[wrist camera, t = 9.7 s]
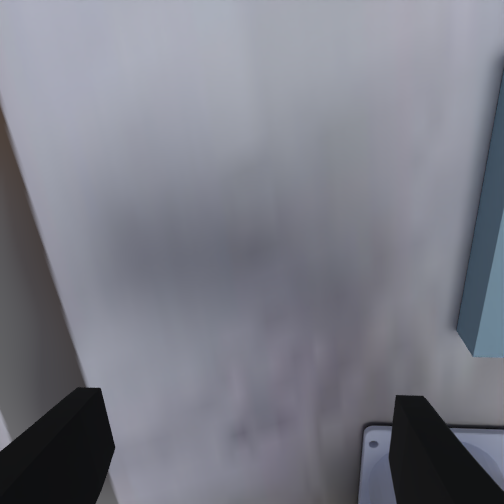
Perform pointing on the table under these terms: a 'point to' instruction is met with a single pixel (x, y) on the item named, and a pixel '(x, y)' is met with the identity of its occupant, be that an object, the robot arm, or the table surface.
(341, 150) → the table surface
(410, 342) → the table surface
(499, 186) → the base board
